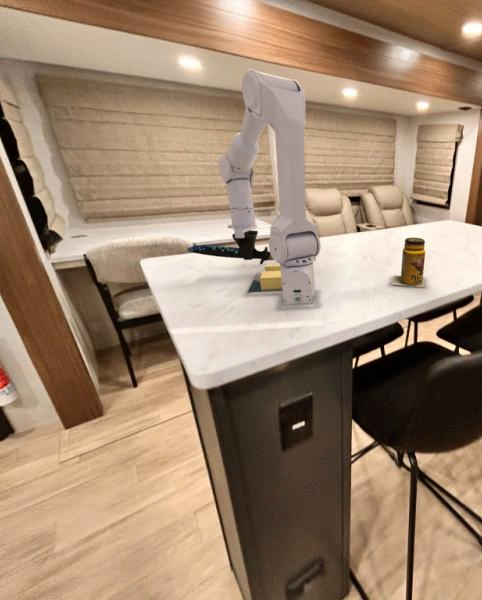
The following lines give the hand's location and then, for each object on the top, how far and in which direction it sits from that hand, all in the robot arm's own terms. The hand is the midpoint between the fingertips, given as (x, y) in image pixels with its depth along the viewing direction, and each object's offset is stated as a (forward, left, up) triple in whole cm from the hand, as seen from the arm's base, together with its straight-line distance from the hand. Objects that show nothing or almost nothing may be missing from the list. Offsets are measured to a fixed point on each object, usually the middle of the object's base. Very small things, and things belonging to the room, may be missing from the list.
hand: (249, 258), depth 86 cm
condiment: (-12, -43, -4) cm, 45 cm away
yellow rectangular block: (-13, -8, -3) cm, 16 cm away
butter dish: (-10, -8, -4) cm, 13 cm away
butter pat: (-6, -8, -3) cm, 10 cm away
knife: (0, 0, -1) cm, 1 cm away
